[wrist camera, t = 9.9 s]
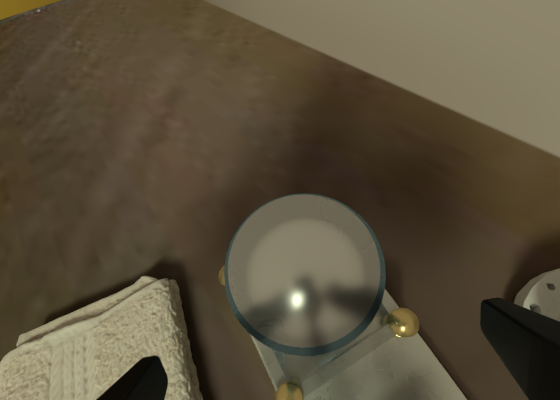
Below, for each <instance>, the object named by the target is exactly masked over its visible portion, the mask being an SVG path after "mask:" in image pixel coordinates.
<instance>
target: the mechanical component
mask: <svg viewBox="0 0 560 400" xmlns="http://www.w3.org/2000/svg"><path fill="white" fill-rule="evenodd" d="M514 304H517V305H519V306H522V307H524V308H527V309H529V310H532V311H534V312H537V313H539V314H542V315H545V316H547V317H550V318H552V319H555V320H557V321H560V268H559V269H555V270H552V271H548V272H545V273H542V274H540V275H539V276H537V277H535V278H533V279H531V280H530V281H529V282H528V283H527V284H526V285H525V286H524V287H523V288H522V289H521V290H520V291H519V292H518V293H517V295H516V298H515V300H514Z"/></svg>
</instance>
